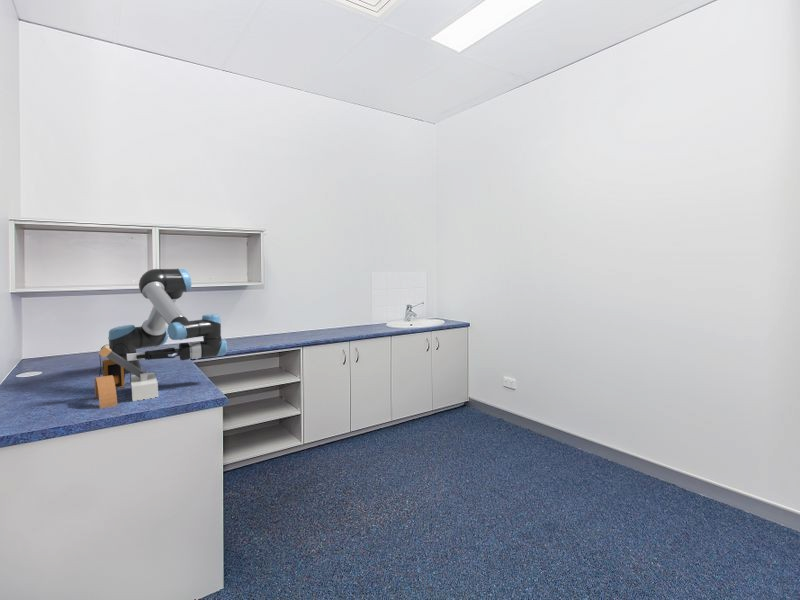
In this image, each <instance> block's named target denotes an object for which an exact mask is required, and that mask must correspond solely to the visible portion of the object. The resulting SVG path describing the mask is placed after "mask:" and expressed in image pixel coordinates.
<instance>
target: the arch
mask: <svg viewBox="0 0 800 600" xmlns="http://www.w3.org/2000/svg"><path fill="white" fill-rule="evenodd" d="M94 397H95V398H98V403H99V409H105V408H110V407H115V406H118V395H117V388H116V387H115V381H114V377H113V375H110V376H103V375H102V376H97V377H94Z"/></svg>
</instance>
